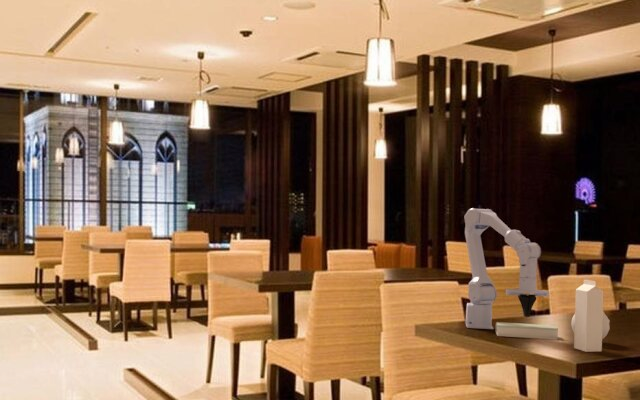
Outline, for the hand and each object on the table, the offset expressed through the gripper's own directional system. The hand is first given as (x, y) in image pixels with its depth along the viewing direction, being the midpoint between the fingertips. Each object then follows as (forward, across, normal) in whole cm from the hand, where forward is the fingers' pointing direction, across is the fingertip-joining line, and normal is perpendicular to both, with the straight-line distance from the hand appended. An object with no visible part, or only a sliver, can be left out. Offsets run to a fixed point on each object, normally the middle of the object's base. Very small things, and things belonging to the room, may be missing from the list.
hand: (526, 316), depth 252 cm
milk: (+7, +13, -23) cm, 27 cm away
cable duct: (+7, 0, 0) cm, 7 cm away
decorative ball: (+7, +19, -8) cm, 22 cm away
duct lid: (+4, 0, 0) cm, 4 cm away
